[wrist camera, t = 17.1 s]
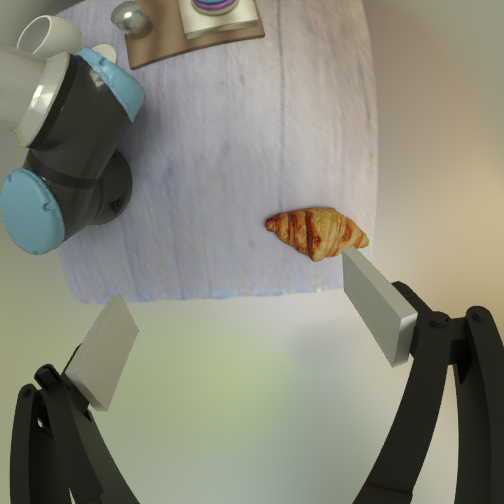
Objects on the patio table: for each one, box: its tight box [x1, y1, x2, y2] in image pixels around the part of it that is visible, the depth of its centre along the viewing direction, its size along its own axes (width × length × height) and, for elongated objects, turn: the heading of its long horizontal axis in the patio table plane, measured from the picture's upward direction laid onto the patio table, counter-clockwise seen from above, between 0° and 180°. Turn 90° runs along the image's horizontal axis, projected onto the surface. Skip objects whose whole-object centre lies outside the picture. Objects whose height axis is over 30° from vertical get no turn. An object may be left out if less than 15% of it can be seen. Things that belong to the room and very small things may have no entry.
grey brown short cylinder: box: [111, 1, 153, 40], centre depth 29 cm, size 5×5×8 cm
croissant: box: [265, 208, 369, 262], centre depth 49 cm, size 21×10×8 cm, turn 80°
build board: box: [125, 0, 265, 70], centre depth 31 cm, size 24×16×4 cm, turn 102°
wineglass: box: [17, 15, 117, 64], centre depth 26 cm, size 9×9×21 cm
